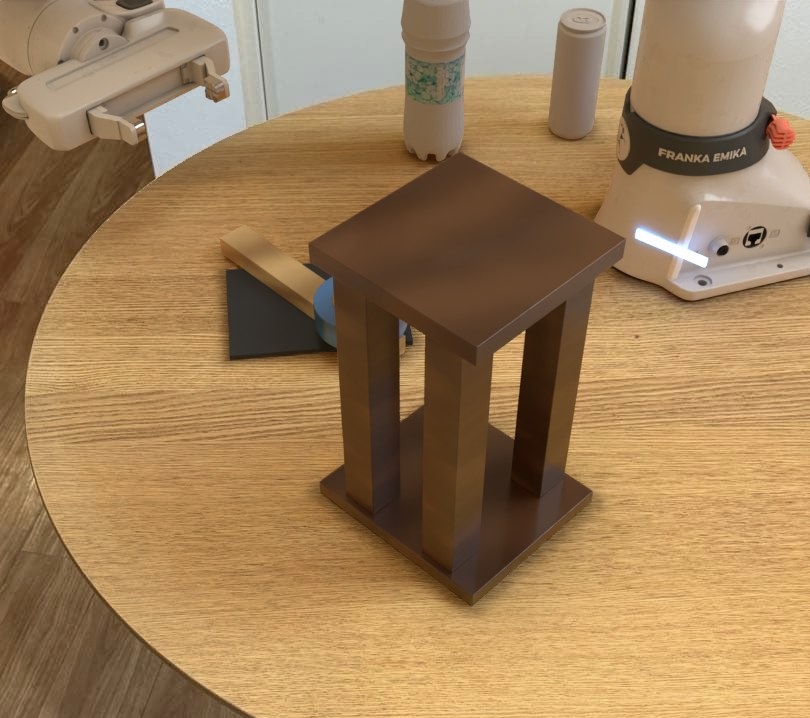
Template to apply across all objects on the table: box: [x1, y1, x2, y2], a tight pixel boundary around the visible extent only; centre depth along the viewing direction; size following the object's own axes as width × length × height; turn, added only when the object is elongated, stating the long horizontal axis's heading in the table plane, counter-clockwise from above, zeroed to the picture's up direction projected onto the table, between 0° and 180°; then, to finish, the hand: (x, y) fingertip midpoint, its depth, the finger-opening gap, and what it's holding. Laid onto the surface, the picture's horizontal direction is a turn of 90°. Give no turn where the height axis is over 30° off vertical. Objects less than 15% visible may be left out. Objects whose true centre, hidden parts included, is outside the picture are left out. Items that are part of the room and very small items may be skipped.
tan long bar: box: [219, 224, 407, 356], centre depth 103 cm, size 22×8×4 cm, turn 44°
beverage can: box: [547, 7, 607, 140], centre depth 118 cm, size 5×5×12 cm
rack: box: [307, 151, 626, 607], centre depth 81 cm, size 16×14×24 cm
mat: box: [225, 262, 414, 361], centre depth 104 cm, size 16×12×1 cm
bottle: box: [400, 0, 472, 162], centre depth 113 cm, size 7×7×20 cm
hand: (182, 113), depth 101 cm, fingers open, 8 cm apart
